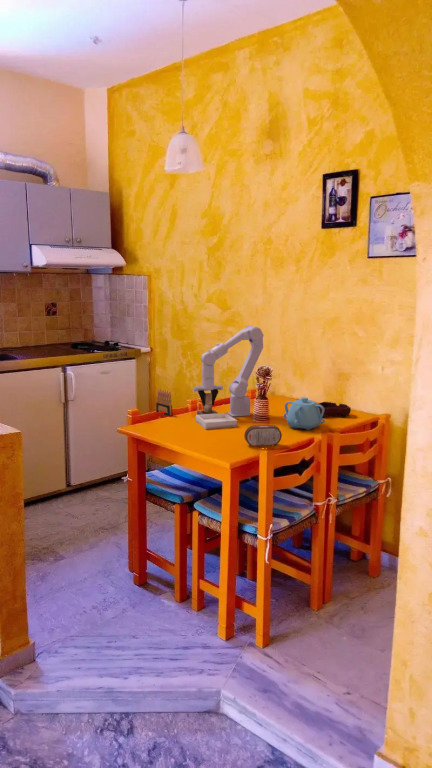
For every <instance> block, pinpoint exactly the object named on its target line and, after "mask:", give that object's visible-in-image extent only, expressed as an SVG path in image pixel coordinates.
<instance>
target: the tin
mask: <svg viewBox="0 0 432 768" xmlns="http://www.w3.org/2000/svg"><path fill="white" fill-rule="evenodd" d="M243 435H244V441H246V443H247V444H248V445H249V446H250V447H273V446H272V445H274V446H276V445H279V443H280V442H281V440H282V436H283V434H282V431H281V430H280V428H279V426H277V425H274V424H253V425H250V426H249V427H247V428H246V430H245V431H244V434H243Z"/></svg>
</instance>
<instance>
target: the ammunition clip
mask: <svg viewBox="0 0 432 768" xmlns="http://www.w3.org/2000/svg"><path fill="white" fill-rule="evenodd" d="M171 393H172V392H171V391H168V390H162V388H161V389H159V388H158V389H157V393H156V395H157V396H156V403H155V412H159V411H164V412H165V413H164V416H167V417H172V416H173V405H172V397H171V396H172V394H171Z"/></svg>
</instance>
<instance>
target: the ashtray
mask: <svg viewBox="0 0 432 768" xmlns="http://www.w3.org/2000/svg"><path fill="white" fill-rule="evenodd" d="M318 404H319V405H322V406H323V407H324V414H323V416H322V418H324V417H329V418H330V417H341V418H347V416H349V415H350V414H351V406H348V405H347V404H345V403H339V405H337V403H336V402H331V401H323V402H318ZM319 410H320V414H321V413H322V409H321V408H320V407H319Z"/></svg>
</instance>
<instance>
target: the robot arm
mask: <svg viewBox="0 0 432 768" xmlns="http://www.w3.org/2000/svg"><path fill="white" fill-rule="evenodd" d="M264 335H265V334H264V333H263V331H262V329H261V328H260V327H257V326H253V325H247V326H246V327H244V328H242V329H241V330H240V331H238V332H237V333H235V334H234V335H233V336H232V337H231V338H229V339H228V340H227V341H226V342H217V343H216V344H215V346H214V347H213V348H211V349H210V348H209V349H207V351H206V352H203V353H202V355H201V357H200V361H201V364H202V366H201V385H200V386H193V388H192V391H193V392H194V393H195V392H197V393H198V395H199V399H200V401H201V406H203V407H204V406H205V393H206V391H210V393H212V406H215V402H216V399H217V397H218V395H219V392H220V391H223V390H224V386H223V385H221V384H220V385H215V364H216V362H217V360H219V359H220V358H222V357H223V356H225V355H226V354H227V353H229V349H230V348H232V347H233V346H235V345H237V344H239V343H240V342H241V341H249V344H250V346H251V348H250V350H249V352H248V354H247V356H246V358H245V361H244V362H243V365H242V367H241V369H240V372H239V373H238V375H237V377H235V378H234V380H233V382H231V383H230V384H229V388H228V389H229V390H228V391H229V392H230V393H231V394H230V398H229V399H230V403H229V406H230V407H229V411H228V412H226V413H227V414H228V415H230V416H231V417H233V418H234V417H247V416H251V399H250V397H249V396H246V395H247V392H248V390H247V389H248V386H249V379H250V378H251V375H252V373H253V370H254V368H255V366H256V364H257V362H258V360H259V358H260V356H261V353H262V351H263V349H264Z"/></svg>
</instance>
